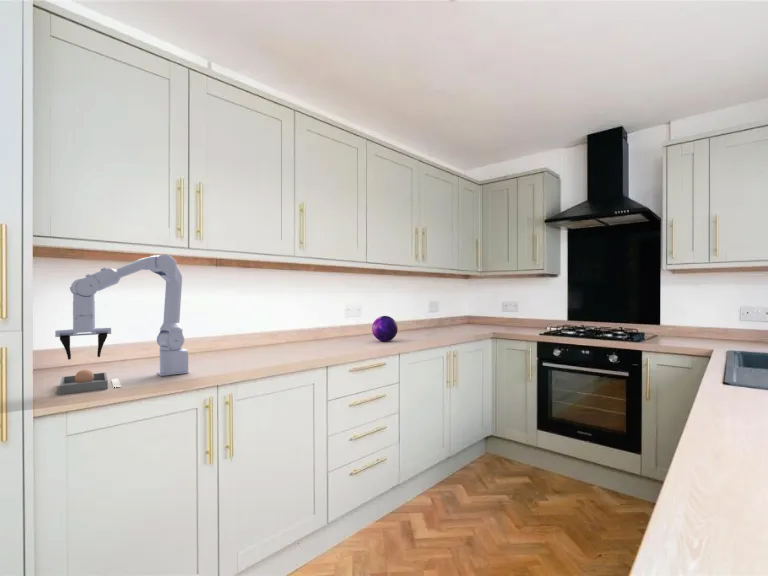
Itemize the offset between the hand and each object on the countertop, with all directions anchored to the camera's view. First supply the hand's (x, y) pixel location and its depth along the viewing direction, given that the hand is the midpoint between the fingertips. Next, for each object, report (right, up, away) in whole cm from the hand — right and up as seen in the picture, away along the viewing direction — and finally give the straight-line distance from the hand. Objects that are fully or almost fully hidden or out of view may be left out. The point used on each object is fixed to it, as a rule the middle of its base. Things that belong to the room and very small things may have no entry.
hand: (84, 357), depth 134 cm
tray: (0, -9, 0) cm, 9 cm away
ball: (0, -6, 0) cm, 6 cm away
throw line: (+7, -9, +5) cm, 13 cm away
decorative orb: (+97, -9, +110) cm, 147 cm away
